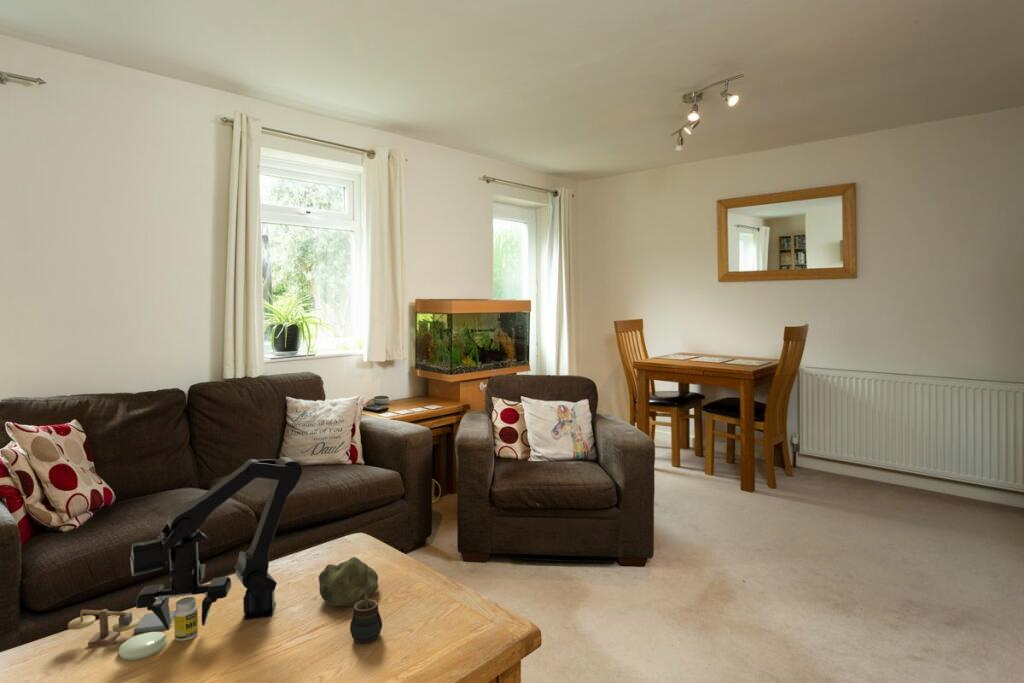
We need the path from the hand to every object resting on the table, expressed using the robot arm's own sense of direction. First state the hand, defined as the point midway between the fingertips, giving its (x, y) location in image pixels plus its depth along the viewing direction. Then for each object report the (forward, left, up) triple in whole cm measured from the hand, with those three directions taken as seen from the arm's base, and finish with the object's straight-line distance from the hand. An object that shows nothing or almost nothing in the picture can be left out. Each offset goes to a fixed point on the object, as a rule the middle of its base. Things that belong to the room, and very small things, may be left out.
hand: (186, 627), depth 132 cm
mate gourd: (-41, +12, -2) cm, 43 cm away
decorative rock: (-37, -9, -2) cm, 38 cm away
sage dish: (+8, +3, -2) cm, 9 cm away
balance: (+18, -3, -2) cm, 18 cm away
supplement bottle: (0, 0, -2) cm, 2 cm away
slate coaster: (+9, -8, -2) cm, 12 cm away
